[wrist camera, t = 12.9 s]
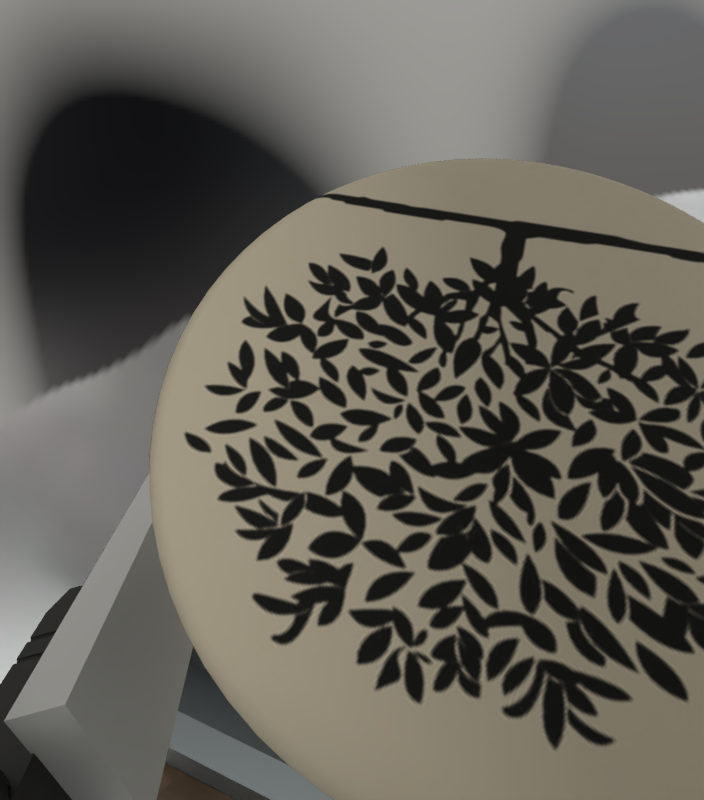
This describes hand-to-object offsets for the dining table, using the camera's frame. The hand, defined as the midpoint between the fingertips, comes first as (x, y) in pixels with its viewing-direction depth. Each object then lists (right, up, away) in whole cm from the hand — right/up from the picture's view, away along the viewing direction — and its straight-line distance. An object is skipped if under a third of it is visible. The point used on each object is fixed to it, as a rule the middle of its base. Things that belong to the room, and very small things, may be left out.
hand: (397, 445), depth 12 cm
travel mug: (+1, -6, +9) cm, 11 cm away
